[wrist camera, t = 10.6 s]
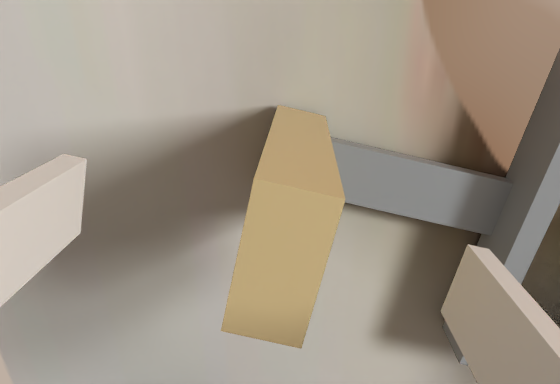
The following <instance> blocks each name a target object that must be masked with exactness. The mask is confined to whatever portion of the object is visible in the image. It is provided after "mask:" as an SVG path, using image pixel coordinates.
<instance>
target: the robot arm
mask: <svg viewBox="0 0 560 384" xmlns="http://www.w3.org/2000/svg"><path fill="white" fill-rule="evenodd" d="M86 163H87V159H85V158H81V157H76V156H72V155H67V154H62V155H60V156H58V157H57V158H55V159H53V160H51V161H49V162H47V163H45V164H43V165H41V166H39V167H37V168H35V169H33V170H31V171H29V172H28V173H26V174H24V175H22V176H20V177H18V178H16V179H14V180H12V181H10V182H8V183H6V184H4V185H2V186H0V307H1V306H2V305H3V304H4V303H5V302H6V301H8V300H9V299H10V298H11V297H12V296H13V295H14V294H15V293H16V292H17V291H18V290H19V289H21V288H22V287H23V286H24V285H25V284H26V283H27V282H28V281H29V280H30V279H31V278H32V277H34V276H35V275H36V274H37V273H38V272H39V271H40V270H41V269H42V268H43V267H44V266H45V265H47V264H48V263H49V262H50V261H51V260H52V259H53V258H54V257H55V256H56V255H57V254H58V253H60V252H61V251H62V250H63V249H64V248H65V247H66V246H67V245H68V244H69V243H70V242H71V241H73V240H74V239H75V238H76V237H77V236H78V235H79V234H80V233H81V222H82V210H83V199H84V187H85V175H86ZM441 313H442V315H443V317H444V319H445V321H446V323H447V325H448V327H449V329H450V331H451V333H452V335H453V336H454V338H455V340H456V342H457V344H458V346H459V348H460V350H461V352H462V354H463V356H464V358H465V360H466V362H467V364H468V366H469V368H470V369H471V371H472V373H473V375H474V377H475V379H476V381H477V383H478V384H560V328H559V327H558V326H557V325H556V324H555V323H554V321H553V320H552V319H551V318H550V317H549V316H548V315H547V314H546V312H545V311H544V310H543V309H542V308H541V307H540V306H539V305H538V303H537V302H536V301H535V300H534V299H533V298H532V297H531V296H530V294H529V293H528V292H527V291H526V290H525V289H524V288H523V287H522V285H521V284H520V283H519V282H518V281H517V280H516V279H515V278H514V276H513V275H512V274H511V273H510V272H509V271H508V270H507V269H506V267H505V266H504V265H503V264H502V263H501V262H500V261H499V260H498V258H497V257H496V256H495V255H494V254H493V253H492V252H491V251H490V249H487V248H482V247H478V246H473V245H469V244H468V245H467V247H466V250H465V252H464V254H463V257H462V259H461V262H460V264H459V267H458V269H457V272H456V274H455V277H454V279H453V282H452V284H451V287H450V289H449V292H448V294H447V296H446V299H445V301H444V304H443V306H442V309H441Z"/></svg>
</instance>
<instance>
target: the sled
mask: <svg viewBox="0 0 560 384" xmlns="http://www.w3.org/2000/svg"><path fill="white" fill-rule="evenodd" d="M344 203H350V204H354V205H359V206H363V207H367V208H372V209H376V210H380V211H385V212H389V213H393V214H398V215H402V216H407V217H411V218H415V219H420V220H424V221H428V222H433V223H437V224H441V225H446V226H450V227H455V228H459V229H463V230H468V231H472V232H476V233H481V236H480V239H479V241H478V244H477V246H478V247H482V248H487V249H490V251H491V252H492V253H493V254H494V255H495V256H496V257H497V258H498V260H499V261H500V262H501V263H502V264H503V265H504V266H505V267H506V269H507V270H508V271H509V272H510V273H511V274H512V275H513V276H514V278H515V279H516V280H517V281H518V282H519V283H520V284H522V281H523V279H524V277H525V275H526V273H527V271H528V269H529V267H530V265H531V263H532V260H533V258H534V256H535V254H536V252H537V250H538V248H539V246H540V244H541V242H542V240H543V237H544V235H545V233H546V231H547V229H548V227H549V225H550V223H551V221H552V219H553V216H554V214H555V212H556V210H557V208H558V206H559V204H560V49H559V52H558V54H557V56H556V59H555V61H554V64H553V66H552V68H551V71H550V73H549V75H548V78H547V80H546V83H545V85H544V87H543V90H542V92H541V94H540V97H539V99H538V102H537V104H536V106H535V109H534V111H533V113H532V116H531V118H530V120H529V123H528V125H527V127H526V130H525V132H524V135H523V137H522V140H521V142H520V144H519V146H518V149H517V151H516V154H515V156H514V159H513V161H512V163H511V166H510V168H509V170H508V172H507V175H506V177H505V178H504V177H500V176H496V175H491V174H487V173H483V172H478V171H474V170H470V169H466V168H461V167H457V166H453V165H448V164H444V163H440V162H436V161H431V160H427V159H423V158H418V157H414V156H410V155H406V154H401V153H397V152H393V151H388V150H384V149H380V148H376V147H371V146H367V145H363V144H358V143H354V142H350V141H346V140H341V139H337V138H333V137H330V133H329V129H328V125H327V121H326V116H323V115H319V114H314V113H310V112H306V111H302V110H297V109H293V108H289V107H285V106H280V105H278V107H277V110H276V113H275V116H274V119H273V122H272V125H271V128H270V131H269V134H268V137H267V140H266V143H265V146H264V149H263V152H262V155H261V158H260V161H259V164H258V167H257V170H256V173H255V176H254V180H253V185H252V189H251V194H250V198H249V203H248V208H247V212H246V217H245V222H244V226H243V231H242V235H241V240H240V245H239V249H238V254H237V259H236V263H235V268H234V272H233V277H232V282H231V286H230V291H229V296H228V300H227V305H226V310H225V314H224V319H223V323H222V328H221V331H223V332H228V333H233V334H237V335H242V336H246V337H251V338H256V339H260V340H265V341H269V342H274V343H278V344H283V345H288V346H292V347H297V348H302V344H303V341H304V338H305V334H306V331H307V328H308V324H309V321H310V317H311V314H312V311H313V307H314V304H315V301H316V297H317V294H318V290H319V287H320V284H321V280H322V277H323V274H324V270H325V267H326V263H327V260H328V257H329V253H330V250H331V247H332V243H333V240H334V236H335V233H336V230H337V226H338V223H339V220H340V216H341V213H342V210H343V206H344ZM442 327H443V329H444V331H445V333H446V335H447V338H448V340H449V342H450V344H451V346H452V348H453V351H454V353H455V355H456V357H457V359H458V361H459V364H464V365H468V364H467V362H466V360H465V358H464V356H463V354H462V352H461V350H460V348H459V346H458V344H457V342H456V340H455V338H454V336H453V335H452V333H451V331H450V329H449V327H448V325H447V323H446V321H445V322H444V324H443V326H442Z"/></svg>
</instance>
